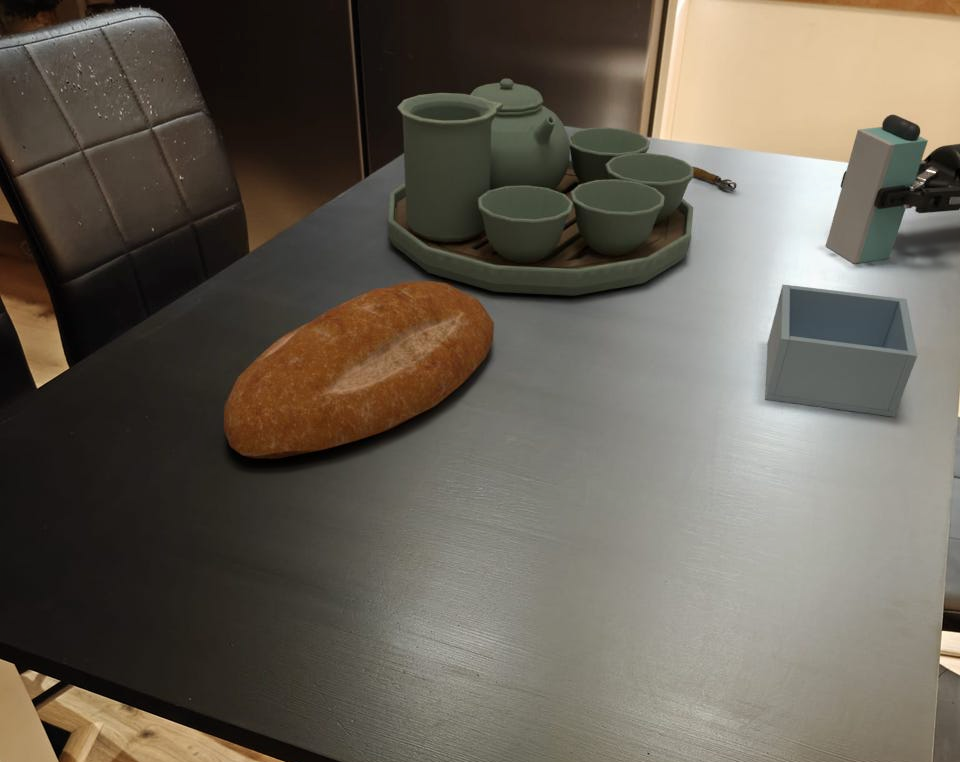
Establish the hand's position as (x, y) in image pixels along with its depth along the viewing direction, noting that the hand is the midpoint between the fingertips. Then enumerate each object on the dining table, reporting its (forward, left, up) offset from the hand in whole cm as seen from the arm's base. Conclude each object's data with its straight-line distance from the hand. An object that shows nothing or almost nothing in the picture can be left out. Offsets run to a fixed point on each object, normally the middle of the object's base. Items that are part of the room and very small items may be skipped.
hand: (861, 189), depth 115 cm
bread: (+48, +49, -8) cm, 69 cm away
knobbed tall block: (-2, -1, -8) cm, 8 cm away
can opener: (+18, -21, -8) cm, 29 cm away
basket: (+3, +34, -8) cm, 35 cm away
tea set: (+39, +5, -8) cm, 40 cm away
